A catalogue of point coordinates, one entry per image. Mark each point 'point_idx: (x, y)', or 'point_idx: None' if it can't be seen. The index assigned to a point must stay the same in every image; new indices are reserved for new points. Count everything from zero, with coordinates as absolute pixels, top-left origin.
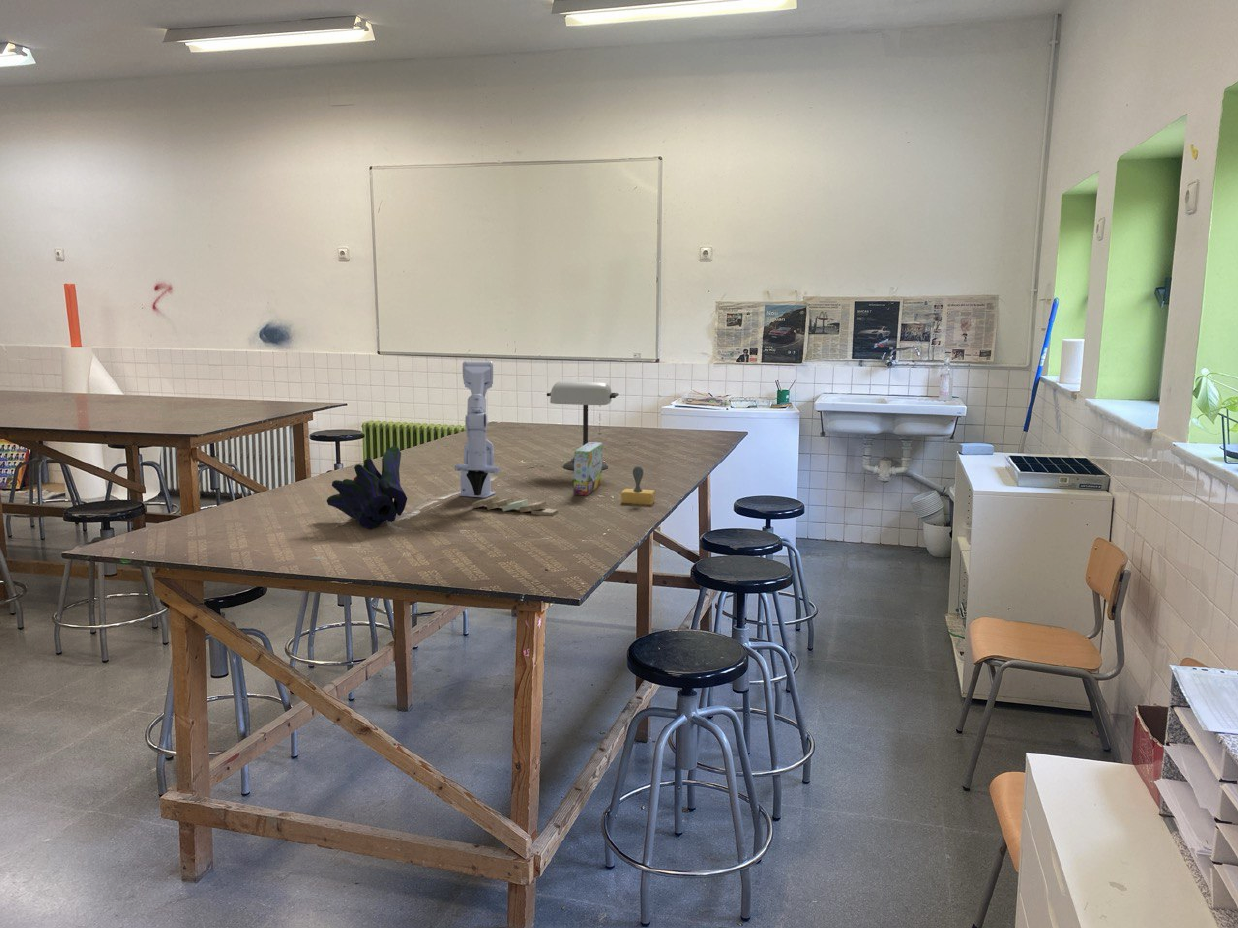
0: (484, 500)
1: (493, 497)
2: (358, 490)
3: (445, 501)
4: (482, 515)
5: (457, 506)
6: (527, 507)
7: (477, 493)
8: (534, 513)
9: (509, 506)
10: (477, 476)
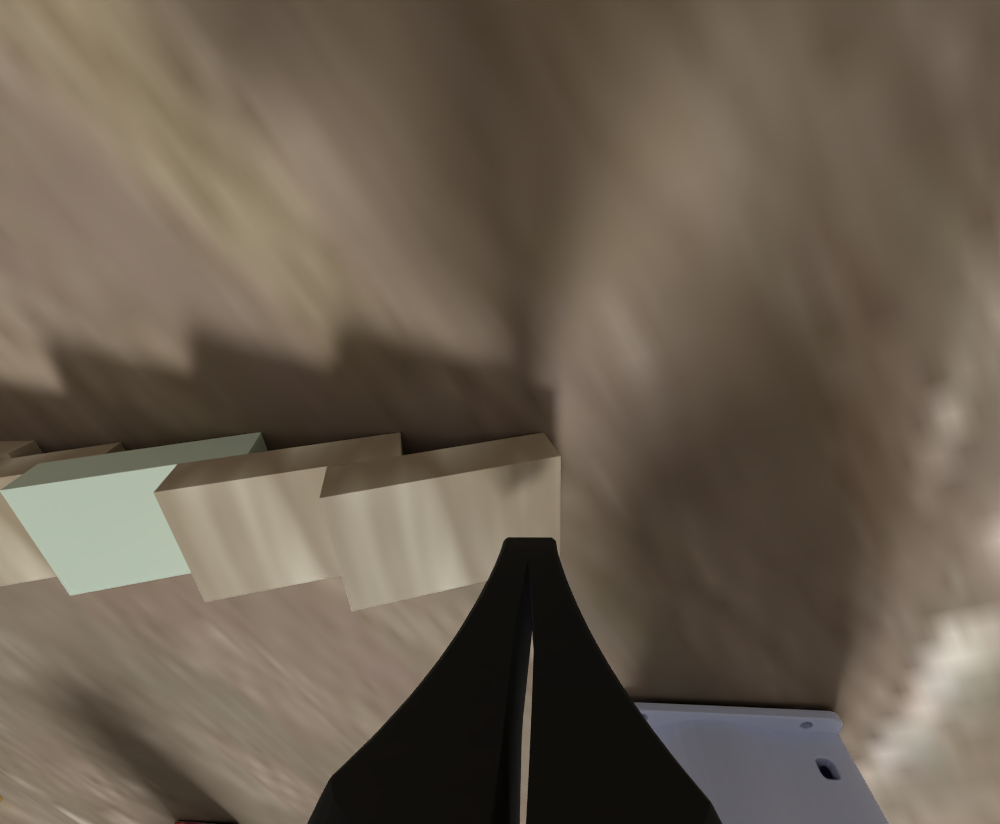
0: (410, 480)
1: (331, 539)
2: None
3: (907, 560)
4: (295, 208)
5: (725, 445)
6: (16, 470)
7: (505, 550)
8: (6, 443)
9: (168, 457)
10: (394, 794)
